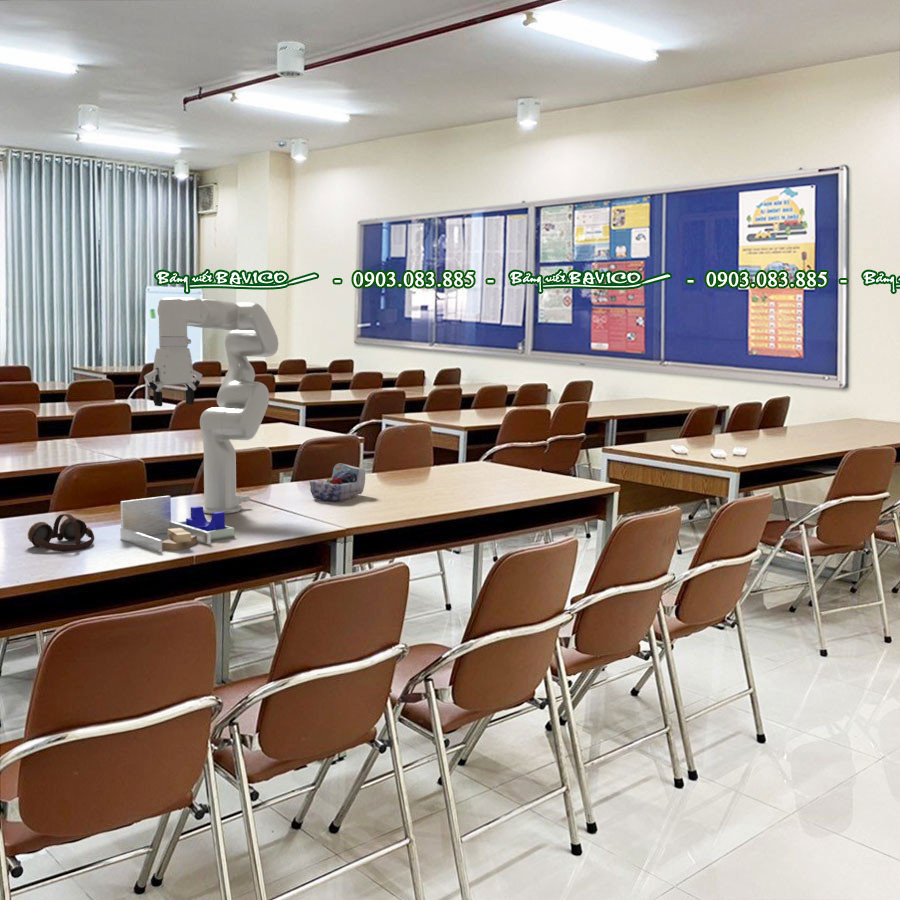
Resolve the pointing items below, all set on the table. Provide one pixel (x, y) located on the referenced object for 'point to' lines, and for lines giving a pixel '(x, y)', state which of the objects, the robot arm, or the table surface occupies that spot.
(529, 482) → the table surface
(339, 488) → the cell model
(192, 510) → the cable clip
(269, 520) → the table surface
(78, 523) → the goggles
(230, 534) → the sage tray
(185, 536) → the oak offcut
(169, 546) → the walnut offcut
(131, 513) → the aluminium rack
